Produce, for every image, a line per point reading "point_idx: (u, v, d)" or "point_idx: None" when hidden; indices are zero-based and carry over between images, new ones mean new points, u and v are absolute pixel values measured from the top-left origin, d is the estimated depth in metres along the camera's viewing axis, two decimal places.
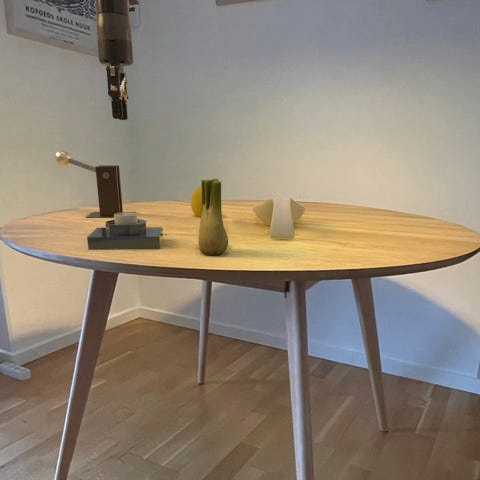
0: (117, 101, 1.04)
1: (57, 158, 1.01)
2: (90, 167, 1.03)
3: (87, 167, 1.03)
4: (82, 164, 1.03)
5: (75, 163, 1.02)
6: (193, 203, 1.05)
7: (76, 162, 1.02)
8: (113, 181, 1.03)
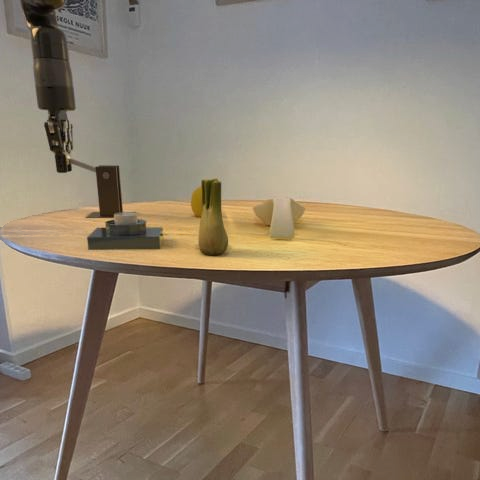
0: (60, 155, 0.99)
1: None
2: (90, 167, 1.03)
3: (87, 167, 1.03)
4: (82, 164, 1.03)
5: (75, 163, 1.02)
6: (193, 203, 1.05)
7: (76, 162, 1.02)
8: (113, 181, 1.03)
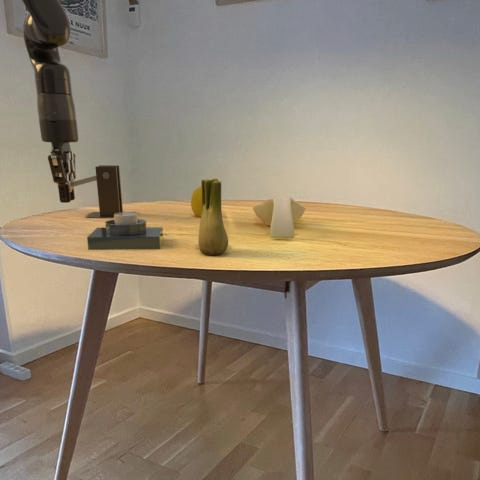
0: (64, 186, 1.02)
1: None
2: (90, 178, 1.04)
3: (88, 180, 1.04)
4: (83, 180, 1.04)
5: (77, 183, 1.04)
6: (193, 203, 1.05)
7: (77, 182, 1.04)
8: (113, 181, 1.03)
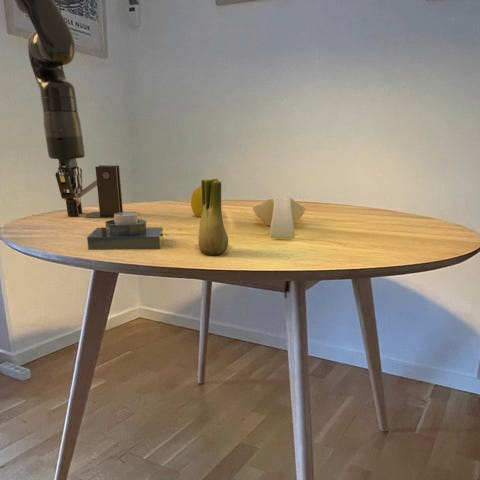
0: (71, 202, 1.03)
1: None
2: (93, 184, 1.04)
3: (91, 186, 1.04)
4: (87, 188, 1.05)
5: (82, 193, 1.05)
6: (193, 203, 1.05)
7: (82, 192, 1.05)
8: (113, 181, 1.03)
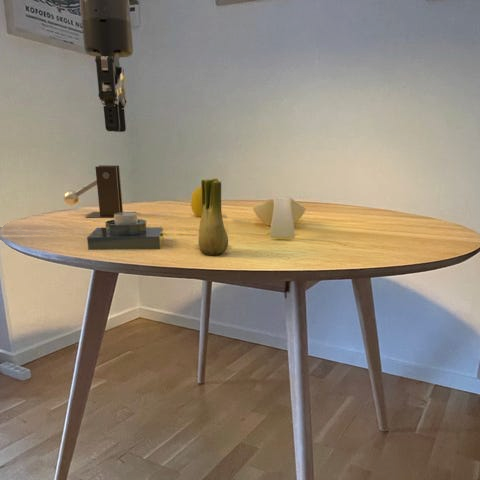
0: (112, 107, 0.73)
1: (68, 201, 1.04)
2: (92, 183, 1.04)
3: (91, 185, 1.04)
4: (86, 187, 1.04)
5: (81, 191, 1.05)
6: (193, 203, 1.05)
7: (81, 190, 1.05)
8: (113, 181, 1.03)
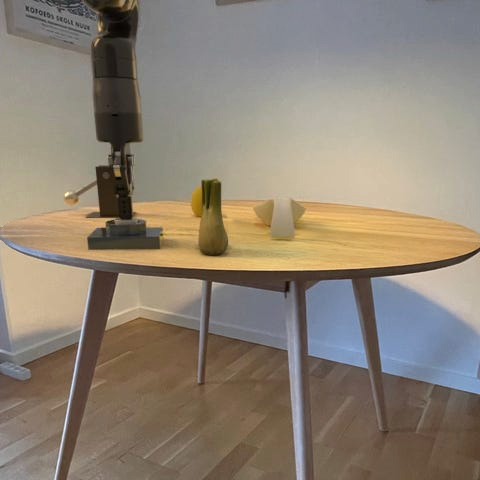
0: (125, 199, 0.79)
1: (68, 201, 1.04)
2: (92, 183, 1.04)
3: (91, 185, 1.04)
4: (86, 187, 1.04)
5: (81, 191, 1.05)
6: (193, 203, 1.05)
7: (81, 190, 1.05)
8: None
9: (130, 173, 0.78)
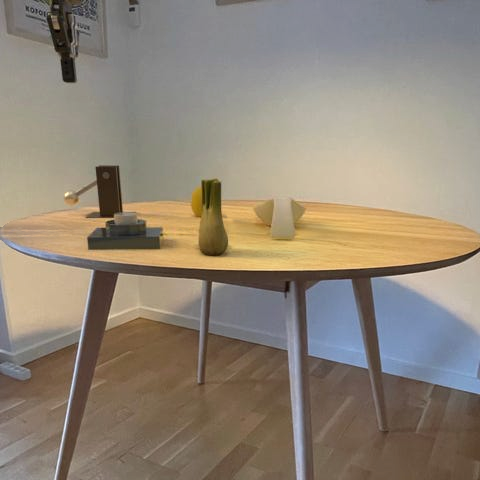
0: (67, 59, 0.82)
1: (68, 201, 1.04)
2: (92, 183, 1.04)
3: (91, 185, 1.04)
4: (86, 187, 1.04)
5: (81, 191, 1.05)
6: (193, 203, 1.05)
7: (81, 190, 1.05)
8: (113, 181, 1.03)
9: (71, 31, 0.81)
